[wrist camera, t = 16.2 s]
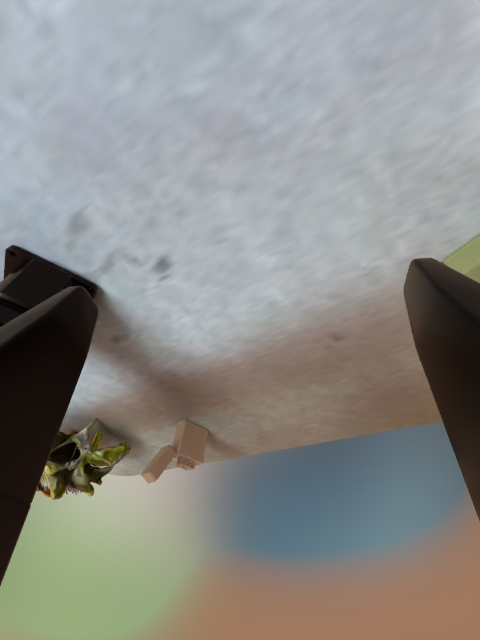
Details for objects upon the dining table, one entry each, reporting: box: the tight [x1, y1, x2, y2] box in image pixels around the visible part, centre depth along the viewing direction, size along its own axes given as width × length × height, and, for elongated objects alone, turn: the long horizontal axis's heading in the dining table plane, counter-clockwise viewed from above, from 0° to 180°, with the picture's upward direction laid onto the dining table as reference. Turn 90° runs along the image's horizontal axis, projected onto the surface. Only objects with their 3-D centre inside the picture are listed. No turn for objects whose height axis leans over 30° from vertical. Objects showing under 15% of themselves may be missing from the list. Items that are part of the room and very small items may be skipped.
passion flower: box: [36, 419, 131, 500], centre depth 42 cm, size 11×11×12 cm
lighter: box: [141, 419, 208, 483], centre depth 37 cm, size 7×2×8 cm, turn 45°
